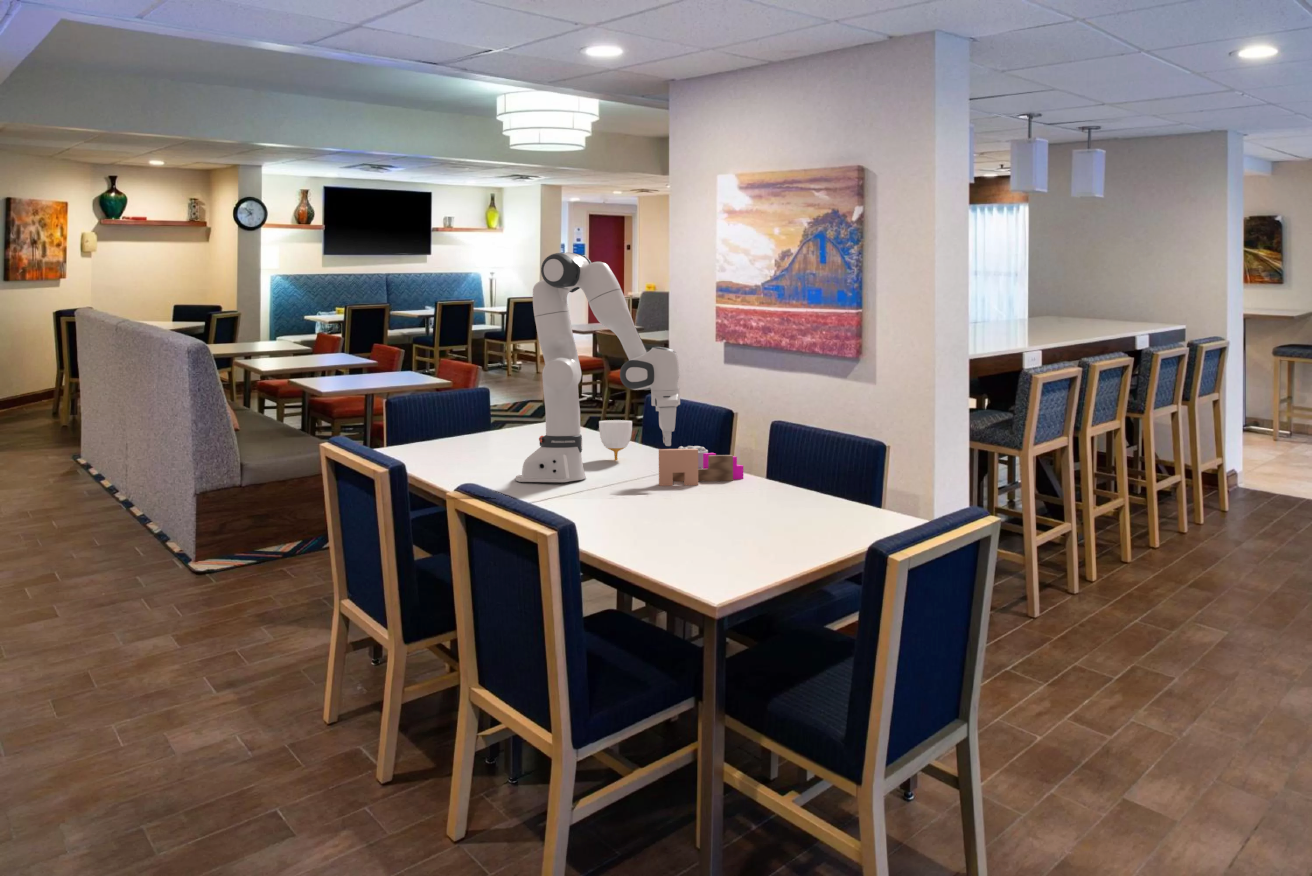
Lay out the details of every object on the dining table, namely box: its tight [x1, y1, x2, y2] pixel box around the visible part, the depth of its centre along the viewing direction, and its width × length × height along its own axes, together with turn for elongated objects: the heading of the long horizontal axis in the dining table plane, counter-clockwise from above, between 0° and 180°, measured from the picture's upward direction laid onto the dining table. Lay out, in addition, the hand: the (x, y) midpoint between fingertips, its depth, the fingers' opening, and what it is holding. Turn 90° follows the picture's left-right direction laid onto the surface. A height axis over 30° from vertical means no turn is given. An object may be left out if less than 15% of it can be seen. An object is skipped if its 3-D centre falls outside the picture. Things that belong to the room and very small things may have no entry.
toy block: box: [702, 452, 744, 480], centre depth 320 cm, size 15×6×8 cm, turn 28°
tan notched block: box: [658, 448, 699, 487], centre depth 301 cm, size 4×12×11 cm, turn 93°
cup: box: [598, 419, 633, 461], centre depth 341 cm, size 12×12×17 cm
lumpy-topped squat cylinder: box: [677, 445, 709, 469], centre depth 335 cm, size 10×13×9 cm
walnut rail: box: [673, 454, 734, 483], centre depth 310 cm, size 20×2×8 cm, turn 93°
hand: (667, 444), depth 300 cm, fingers open, 8 cm apart
